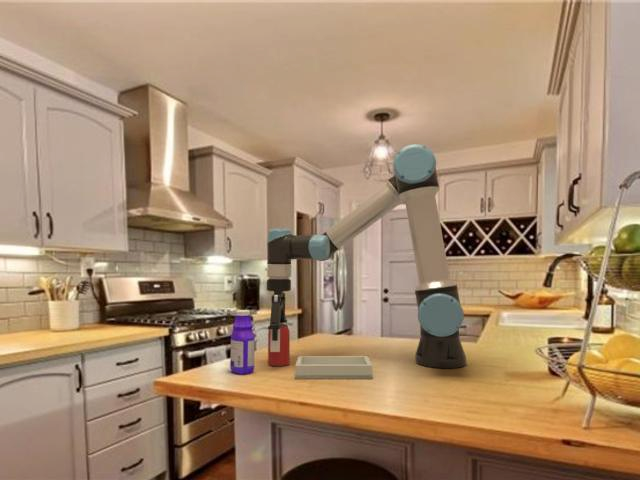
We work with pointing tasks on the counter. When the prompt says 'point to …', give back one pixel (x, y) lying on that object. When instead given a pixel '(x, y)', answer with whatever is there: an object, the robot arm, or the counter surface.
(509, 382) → the counter surface
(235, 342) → the bottle
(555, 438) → the counter surface
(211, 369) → the counter surface
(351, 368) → the tray
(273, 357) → the beer can
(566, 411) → the counter surface
